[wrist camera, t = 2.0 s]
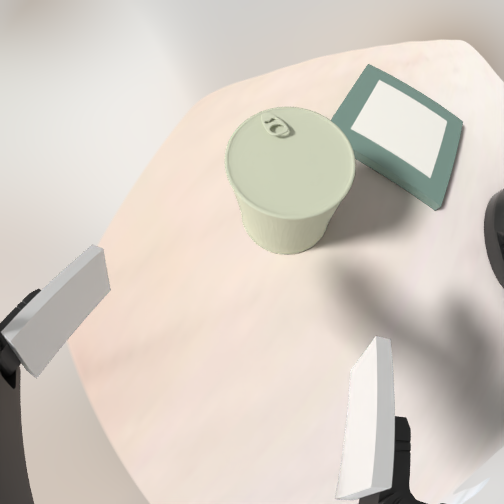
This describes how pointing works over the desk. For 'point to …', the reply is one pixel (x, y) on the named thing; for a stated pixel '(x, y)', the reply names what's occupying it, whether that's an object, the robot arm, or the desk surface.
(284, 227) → the can
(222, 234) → the desk surface
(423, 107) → the board
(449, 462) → the desk surface
